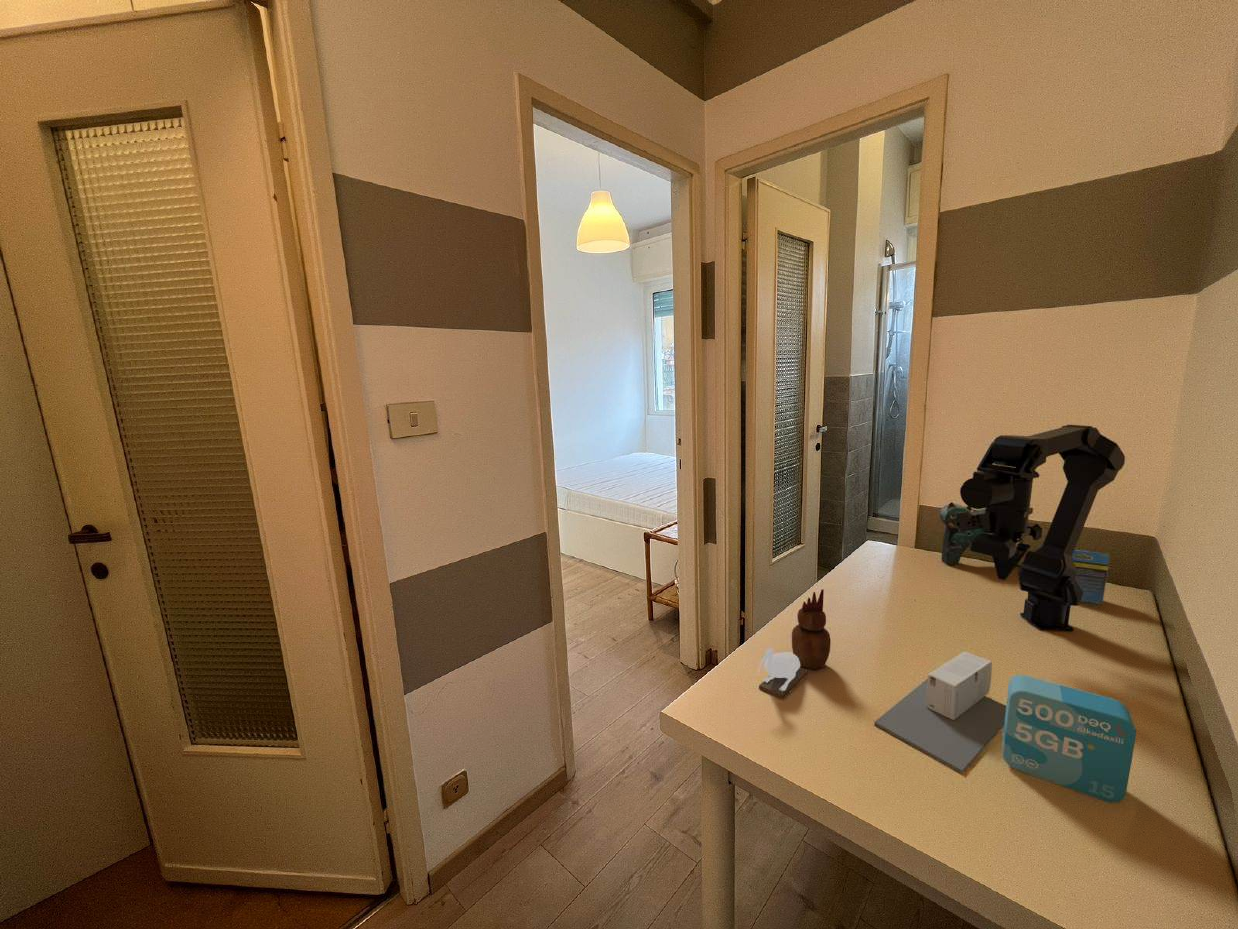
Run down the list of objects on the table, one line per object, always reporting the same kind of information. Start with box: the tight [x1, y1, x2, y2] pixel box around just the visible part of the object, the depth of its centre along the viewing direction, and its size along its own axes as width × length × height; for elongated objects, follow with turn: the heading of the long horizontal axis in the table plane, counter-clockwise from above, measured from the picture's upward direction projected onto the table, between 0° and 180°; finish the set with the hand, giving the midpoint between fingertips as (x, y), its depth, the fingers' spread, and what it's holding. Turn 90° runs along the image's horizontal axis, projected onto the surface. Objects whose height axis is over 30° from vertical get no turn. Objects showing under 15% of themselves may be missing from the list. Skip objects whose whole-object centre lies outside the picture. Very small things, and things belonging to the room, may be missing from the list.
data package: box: [1002, 674, 1137, 804], centre depth 65 cm, size 12×4×12 cm, turn 53°
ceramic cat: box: [939, 501, 1024, 568], centre depth 134 cm, size 20×6×20 cm, turn 81°
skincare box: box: [926, 651, 993, 720], centre depth 80 cm, size 6×4×12 cm
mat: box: [873, 678, 1007, 774], centre depth 77 cm, size 20×12×1 cm, turn 125°
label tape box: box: [1072, 549, 1110, 606], centre depth 113 cm, size 9×4×12 cm, turn 58°
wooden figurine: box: [791, 588, 832, 670], centre depth 91 cm, size 7×6×15 cm
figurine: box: [757, 647, 809, 700], centre depth 86 cm, size 14×4×9 cm, turn 135°
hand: (1001, 579), depth 96 cm, fingers closed
